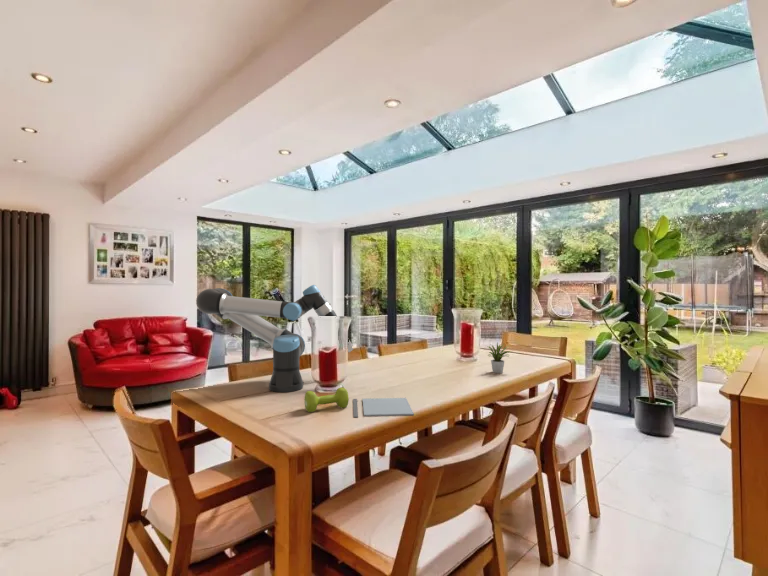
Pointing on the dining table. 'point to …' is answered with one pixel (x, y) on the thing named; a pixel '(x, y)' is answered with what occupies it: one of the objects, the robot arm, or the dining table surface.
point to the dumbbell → (326, 399)
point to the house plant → (497, 358)
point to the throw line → (355, 408)
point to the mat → (386, 407)
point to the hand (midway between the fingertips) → (351, 349)
